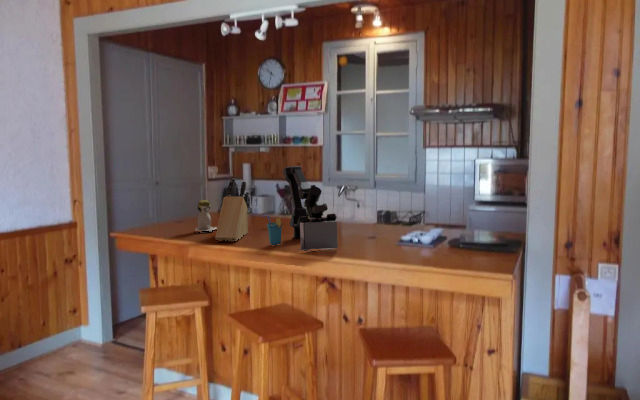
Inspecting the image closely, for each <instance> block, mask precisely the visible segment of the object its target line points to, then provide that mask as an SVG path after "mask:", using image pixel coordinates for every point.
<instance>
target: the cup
mask: <svg viewBox="0 0 640 400" xmlns="http://www.w3.org/2000/svg"><path fill="white" fill-rule="evenodd" d="M261 216H262V217H263V218H264V217H267V220H268V223H266V227H267V233H268V240H269V245H270V244H272V245H277V244H280V243H281V244H282V229H283V228H282V227H283V223H282V219H281V218H280V217H277V218H276V219H275V221H274V222H272V221H271V218H270V215H269V214H263V215H261Z"/></svg>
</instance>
